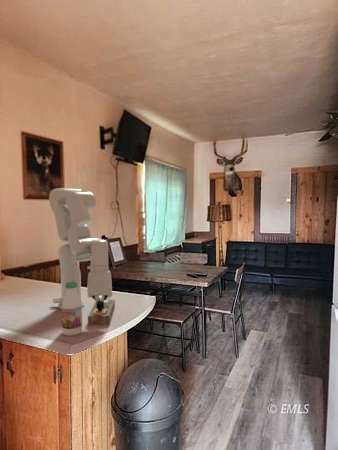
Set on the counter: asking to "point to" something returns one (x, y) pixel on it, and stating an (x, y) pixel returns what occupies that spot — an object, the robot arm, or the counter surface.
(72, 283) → the milk bottle
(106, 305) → the button two
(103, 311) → the button three
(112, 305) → the button board
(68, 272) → the robot arm
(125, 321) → the counter surface
